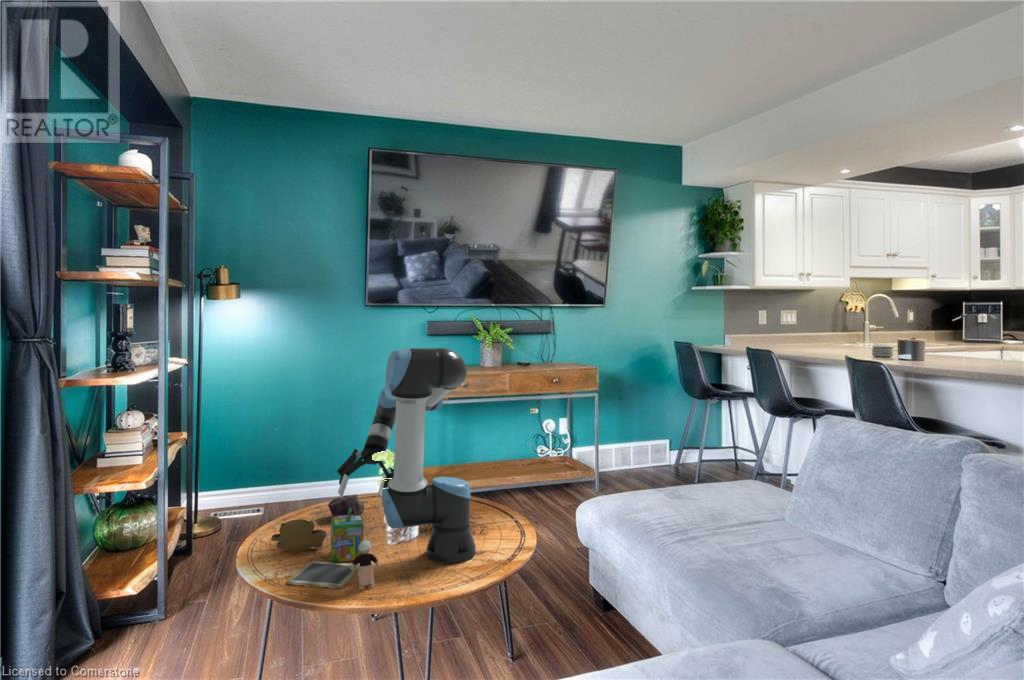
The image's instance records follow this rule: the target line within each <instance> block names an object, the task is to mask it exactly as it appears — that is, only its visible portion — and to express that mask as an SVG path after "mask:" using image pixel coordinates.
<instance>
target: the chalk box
mask: <svg viewBox="0 0 1024 680" xmlns="http://www.w3.org/2000/svg"><path fill="white" fill-rule="evenodd" d="M349 512H350V514H349ZM351 513H352V509H351V507H349V510H348V514H347V515H343V516H332V515H331V518H330V519H331V520H330V528H331V529H330V556H331V559H332V563H345V562H352V561H353V560H354V559H355V558H356V557H357V556H359V555H362V553H361V551H360V550H359V545H360V543H361V542H362V541H364V530H365V529H364V528H365V526H364V525H365V523H364V519H363V517H362V514H354V515H351Z"/></svg>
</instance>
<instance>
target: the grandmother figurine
mask: <svg viewBox="0 0 1024 680" xmlns="http://www.w3.org/2000/svg"><path fill="white" fill-rule="evenodd" d="M359 550H360V551H361V553H362V555H359V556H357V557H356V558H355V559H354V560H353V561H351V564H352V565H351V567H350V569H351V570H353V569H354V567H355V565H357V564H359V571H358V584H359V585H358V589H359V590H360V591H363V590H366V589H367V588H368V589H374V588H375V587H376V583H375V582H374V581H375V579H374V568H373V564H372V563H374V565H375V567H376V568H377V569H379V568H380V567H381V565H380V563H379V560H378V558H377V557H376V555H374V554H372V553H370V550H372V544H371V541H370V540H367V539H363V541H362V542H361V543H360V545H359Z"/></svg>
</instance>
